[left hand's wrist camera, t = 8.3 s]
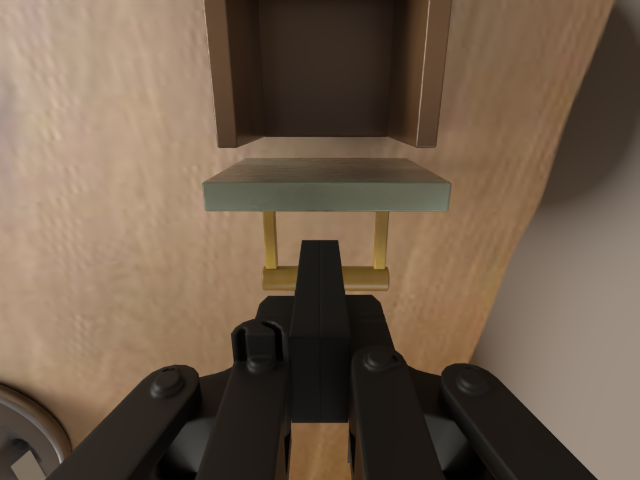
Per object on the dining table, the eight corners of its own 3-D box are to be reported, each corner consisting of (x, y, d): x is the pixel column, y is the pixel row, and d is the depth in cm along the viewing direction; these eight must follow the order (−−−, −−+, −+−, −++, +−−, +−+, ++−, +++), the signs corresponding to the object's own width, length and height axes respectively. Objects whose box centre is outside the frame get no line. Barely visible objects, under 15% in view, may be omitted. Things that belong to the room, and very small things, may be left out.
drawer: (398, 259, 24) (433, 329, 16) (252, 259, 24) (218, 328, 16) (438, -226, 16) (547, -552, 8) (217, -223, 16) (115, -542, 8)
